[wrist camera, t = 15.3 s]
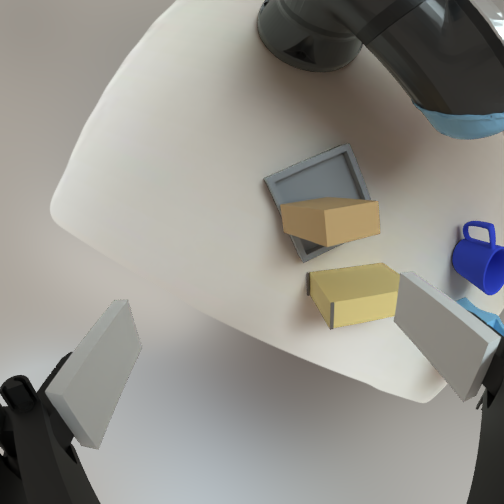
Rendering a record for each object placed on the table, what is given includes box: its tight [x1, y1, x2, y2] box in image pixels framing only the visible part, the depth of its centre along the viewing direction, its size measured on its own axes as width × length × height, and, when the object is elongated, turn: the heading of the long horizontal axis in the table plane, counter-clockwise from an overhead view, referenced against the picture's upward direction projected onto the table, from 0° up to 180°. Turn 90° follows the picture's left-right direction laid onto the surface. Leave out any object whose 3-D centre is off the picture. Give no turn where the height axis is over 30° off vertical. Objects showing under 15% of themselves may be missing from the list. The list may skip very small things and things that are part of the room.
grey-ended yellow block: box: [307, 263, 400, 330], centre depth 36 cm, size 12×4×10 cm, turn 95°
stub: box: [280, 197, 380, 247], centre depth 32 cm, size 7×4×10 cm, turn 97°
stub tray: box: [264, 143, 371, 263], centre depth 37 cm, size 12×12×2 cm
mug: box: [452, 221, 504, 295], centre depth 36 cm, size 8×12×10 cm
